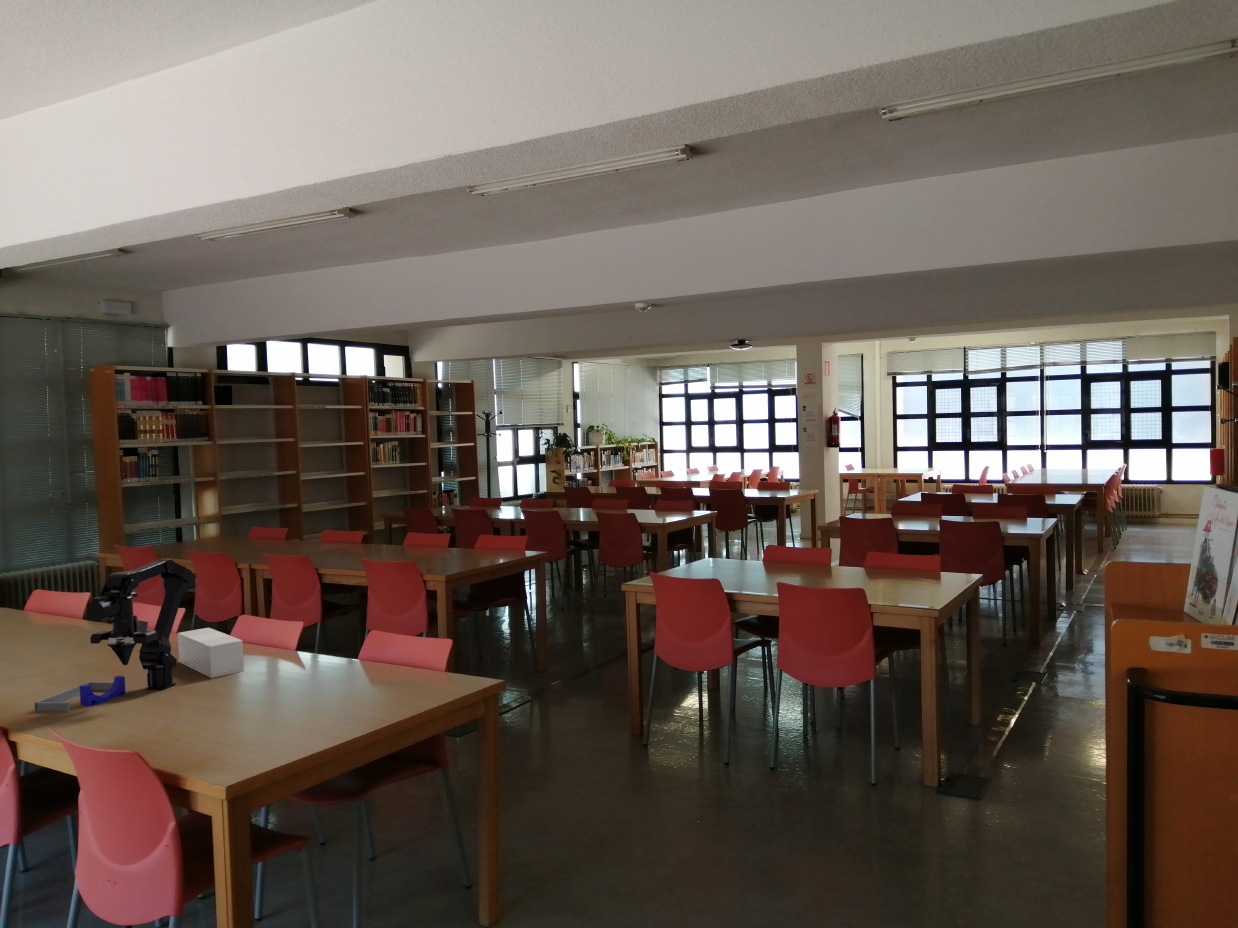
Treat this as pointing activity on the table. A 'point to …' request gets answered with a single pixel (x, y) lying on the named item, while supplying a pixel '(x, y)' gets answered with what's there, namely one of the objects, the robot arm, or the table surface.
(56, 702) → the bracket
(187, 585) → the robot arm
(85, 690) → the blue cradle mount
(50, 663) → the table surface
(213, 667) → the stack of papers
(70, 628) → the table surface
